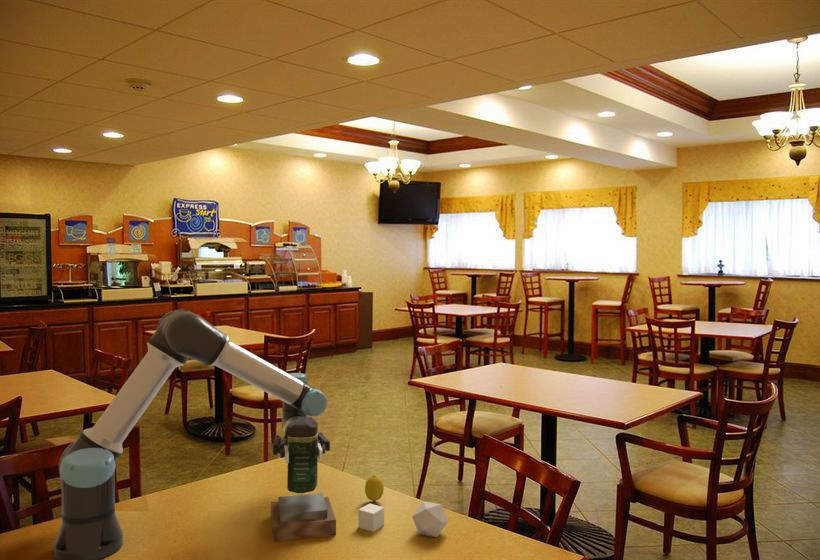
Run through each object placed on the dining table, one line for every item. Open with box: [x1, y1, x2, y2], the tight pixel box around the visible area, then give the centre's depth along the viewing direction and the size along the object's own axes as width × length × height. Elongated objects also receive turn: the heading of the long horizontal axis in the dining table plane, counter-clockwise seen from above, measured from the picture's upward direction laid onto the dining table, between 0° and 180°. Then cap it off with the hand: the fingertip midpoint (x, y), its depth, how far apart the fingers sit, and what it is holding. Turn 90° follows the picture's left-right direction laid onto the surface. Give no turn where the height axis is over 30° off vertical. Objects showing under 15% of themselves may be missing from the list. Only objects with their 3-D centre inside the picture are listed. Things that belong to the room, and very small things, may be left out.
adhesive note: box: [358, 503, 385, 533], centre depth 167 cm, size 5×5×5 cm
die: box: [411, 500, 449, 538], centre depth 163 cm, size 8×9×10 cm
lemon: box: [364, 474, 385, 503], centre depth 183 cm, size 6×6×8 cm
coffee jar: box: [286, 416, 319, 495], centre depth 166 cm, size 10×8×19 cm
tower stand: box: [270, 492, 337, 543], centre depth 167 cm, size 16×16×6 cm
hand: (304, 456), depth 162 cm, fingers closed on coffee jar, 8 cm apart
